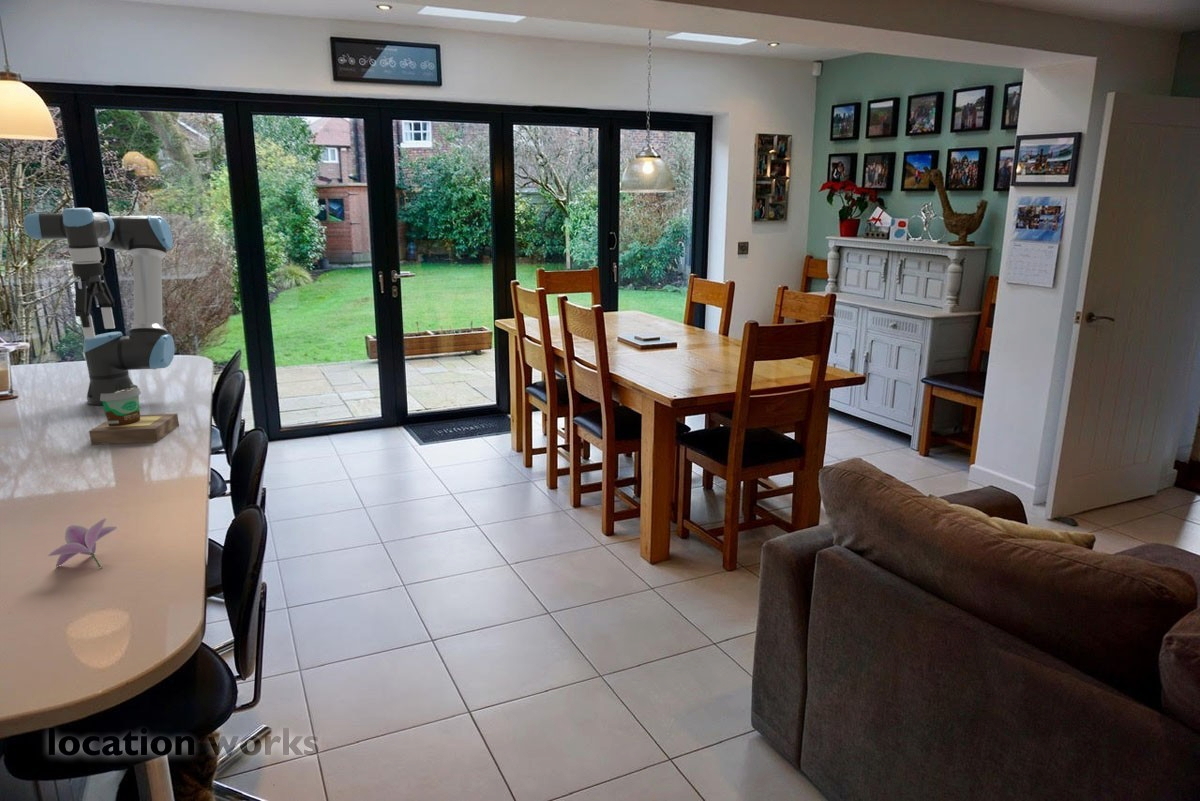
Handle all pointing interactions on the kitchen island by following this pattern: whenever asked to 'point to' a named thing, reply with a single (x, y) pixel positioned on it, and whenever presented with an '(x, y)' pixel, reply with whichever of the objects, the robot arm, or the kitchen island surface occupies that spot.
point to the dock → (136, 430)
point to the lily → (81, 541)
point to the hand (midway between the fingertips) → (100, 333)
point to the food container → (122, 406)
